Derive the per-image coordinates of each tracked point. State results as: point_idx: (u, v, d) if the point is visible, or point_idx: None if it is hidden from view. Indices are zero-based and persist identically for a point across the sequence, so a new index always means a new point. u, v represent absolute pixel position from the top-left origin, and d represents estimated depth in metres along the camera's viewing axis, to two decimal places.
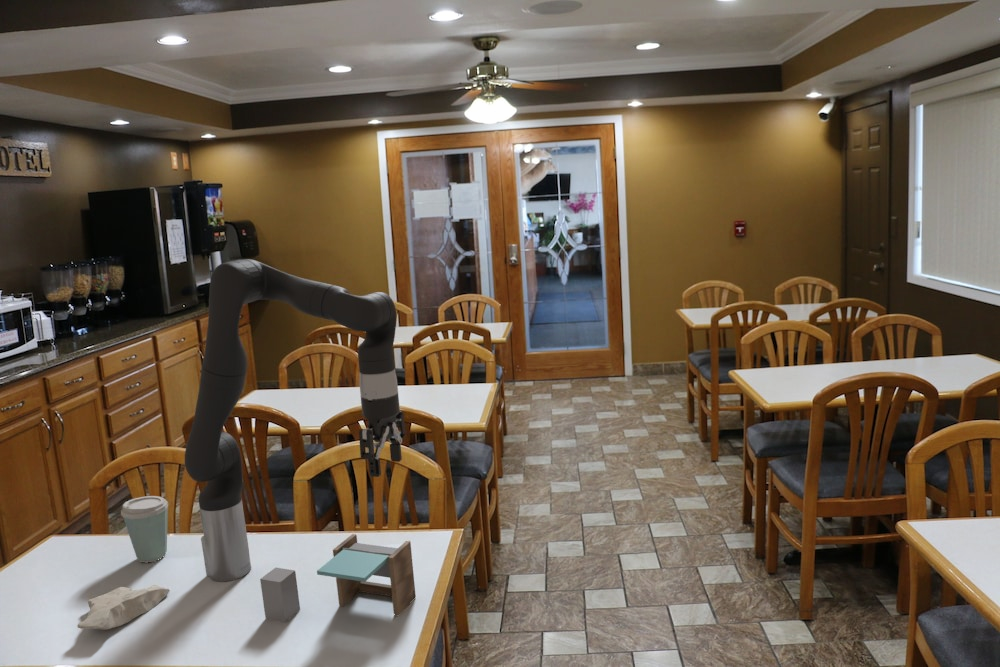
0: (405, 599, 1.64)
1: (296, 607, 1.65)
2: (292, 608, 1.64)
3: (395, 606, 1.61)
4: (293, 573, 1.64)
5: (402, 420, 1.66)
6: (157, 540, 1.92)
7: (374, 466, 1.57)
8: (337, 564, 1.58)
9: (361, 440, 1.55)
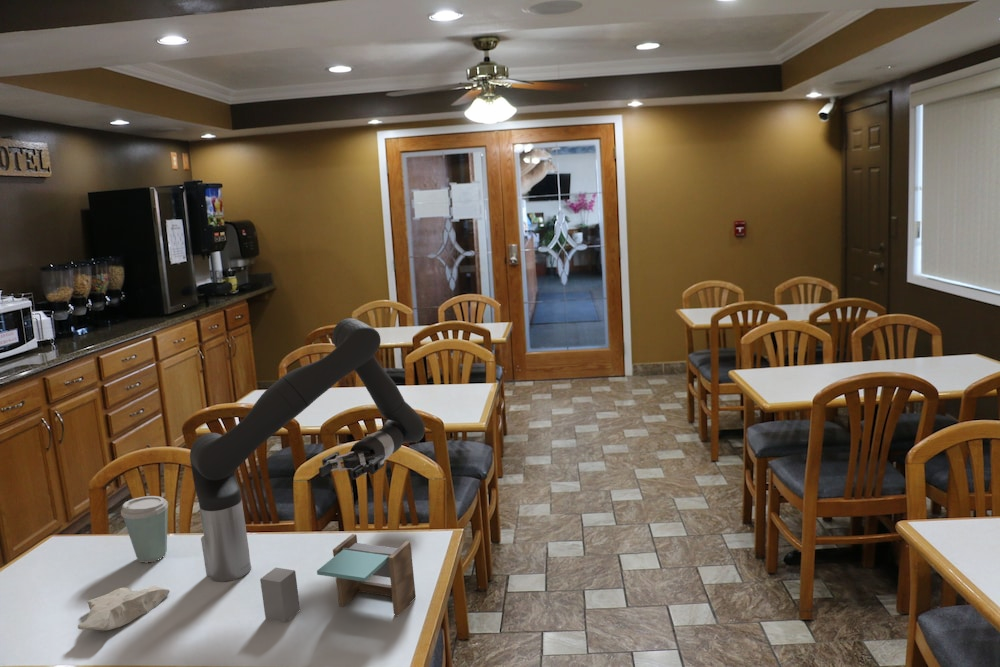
0: (405, 599, 1.64)
1: (296, 607, 1.65)
2: (292, 608, 1.64)
3: (395, 606, 1.61)
4: (293, 573, 1.64)
5: None
6: (157, 540, 1.92)
7: (361, 474, 1.82)
8: (337, 564, 1.58)
9: (380, 460, 1.87)
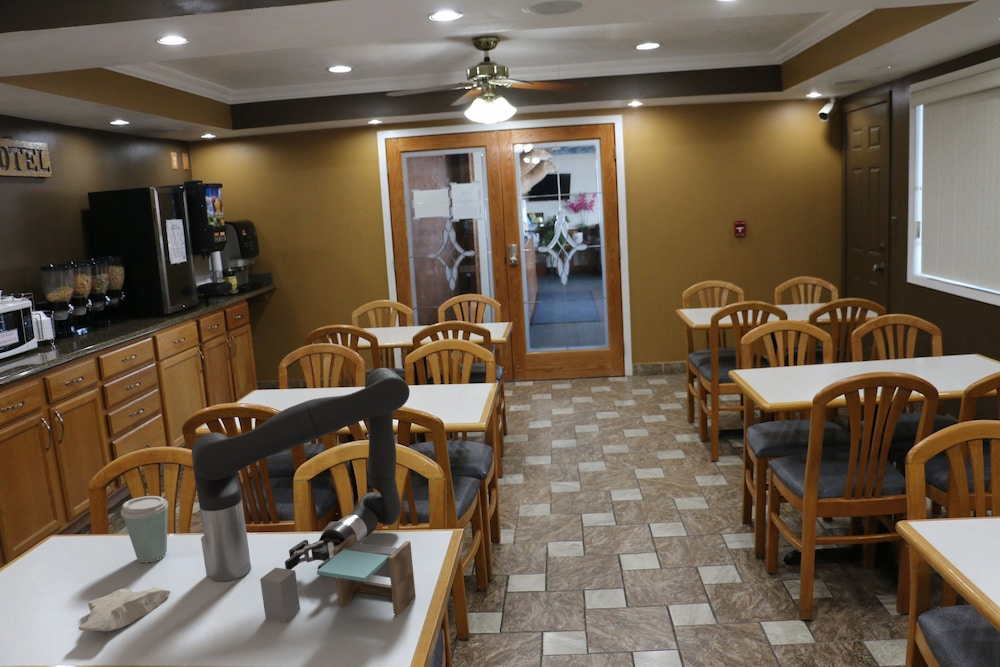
0: (405, 599, 1.64)
1: (296, 607, 1.65)
2: (292, 608, 1.64)
3: (395, 606, 1.61)
4: (293, 573, 1.64)
5: None
6: (157, 540, 1.92)
7: None
8: (337, 564, 1.58)
9: None
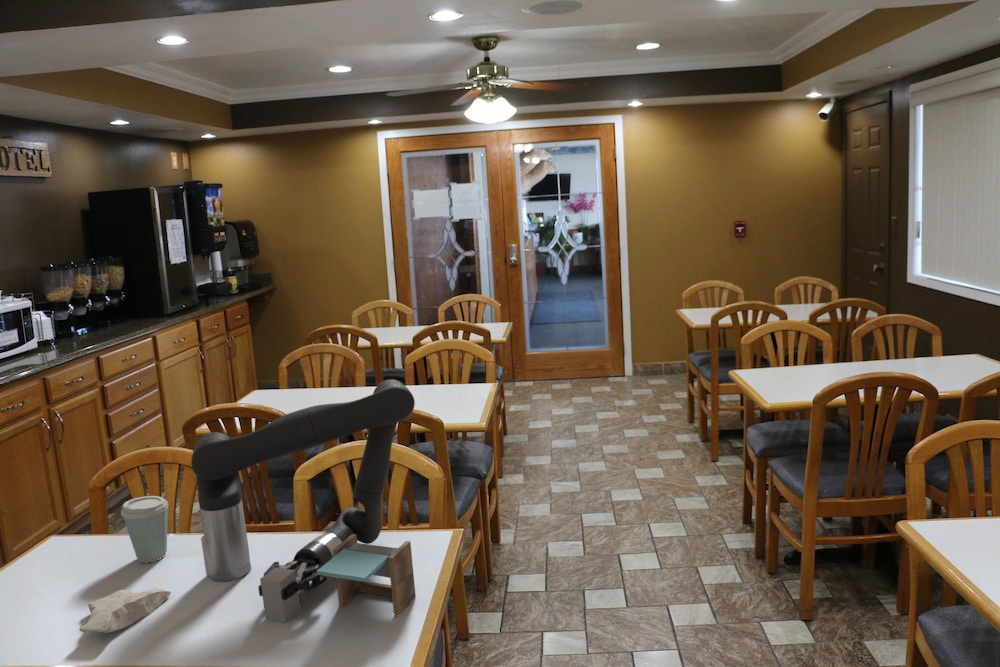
0: (405, 599, 1.64)
1: (296, 607, 1.65)
2: (292, 608, 1.64)
3: (395, 606, 1.61)
4: (293, 573, 1.64)
5: None
6: (157, 540, 1.92)
7: (294, 593, 1.62)
8: (337, 564, 1.58)
9: (320, 575, 1.66)
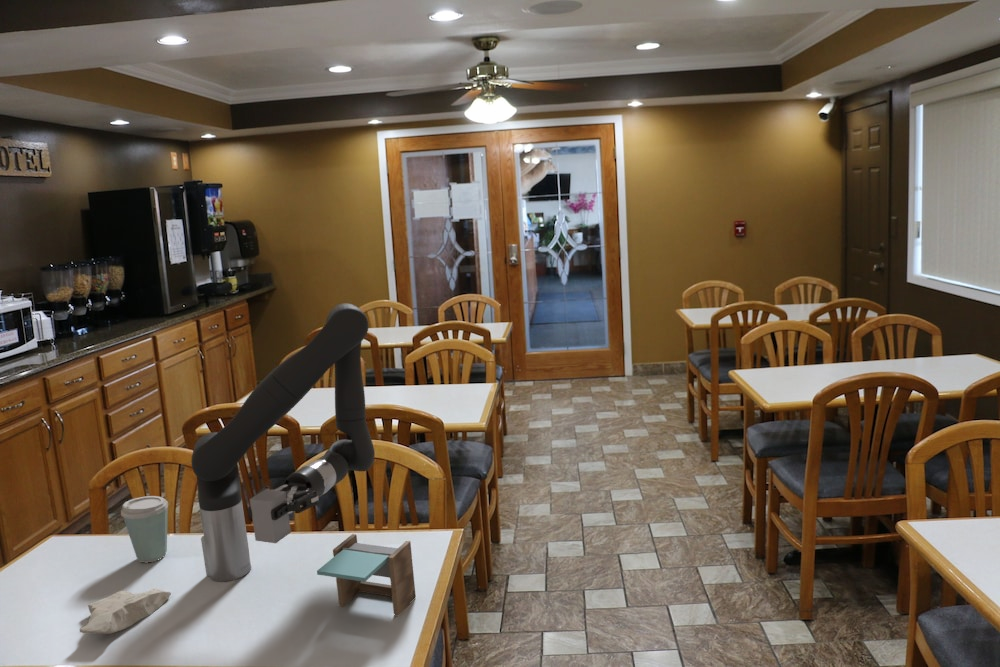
0: (405, 599, 1.64)
1: (287, 529, 1.62)
2: (282, 530, 1.60)
3: (395, 606, 1.61)
4: (283, 494, 1.61)
5: None
6: (157, 540, 1.92)
7: (284, 513, 1.59)
8: (337, 564, 1.58)
9: (311, 497, 1.63)
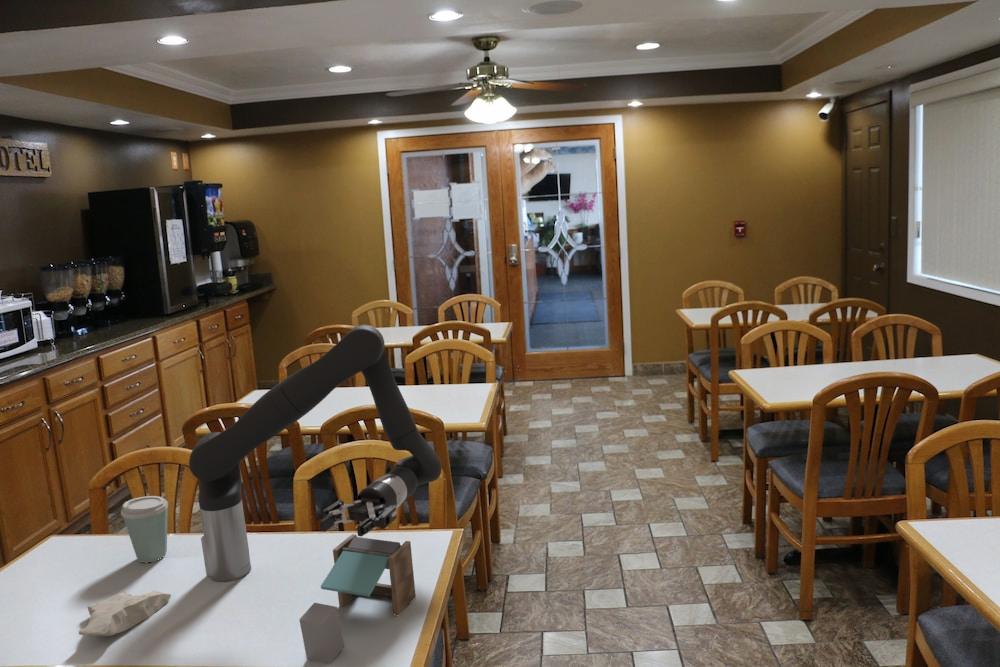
0: (405, 599, 1.64)
1: (326, 625, 1.45)
2: (330, 622, 1.46)
3: (395, 606, 1.61)
4: (331, 660, 1.47)
5: None
6: (157, 540, 1.92)
7: (370, 529, 1.54)
8: (339, 574, 1.59)
9: (392, 512, 1.59)
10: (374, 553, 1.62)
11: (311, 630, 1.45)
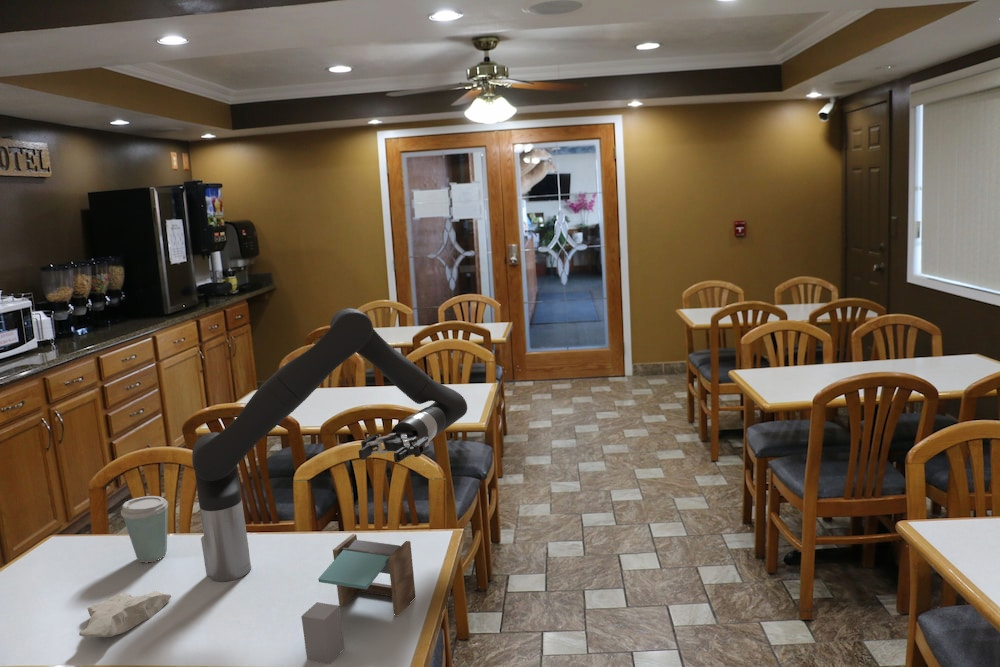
0: (405, 599, 1.64)
1: (328, 621, 1.46)
2: (332, 620, 1.47)
3: (395, 606, 1.61)
4: (331, 660, 1.47)
5: None
6: (157, 540, 1.92)
7: (405, 457, 1.67)
8: (338, 569, 1.59)
9: (425, 442, 1.71)
10: (374, 553, 1.62)
11: (312, 627, 1.46)
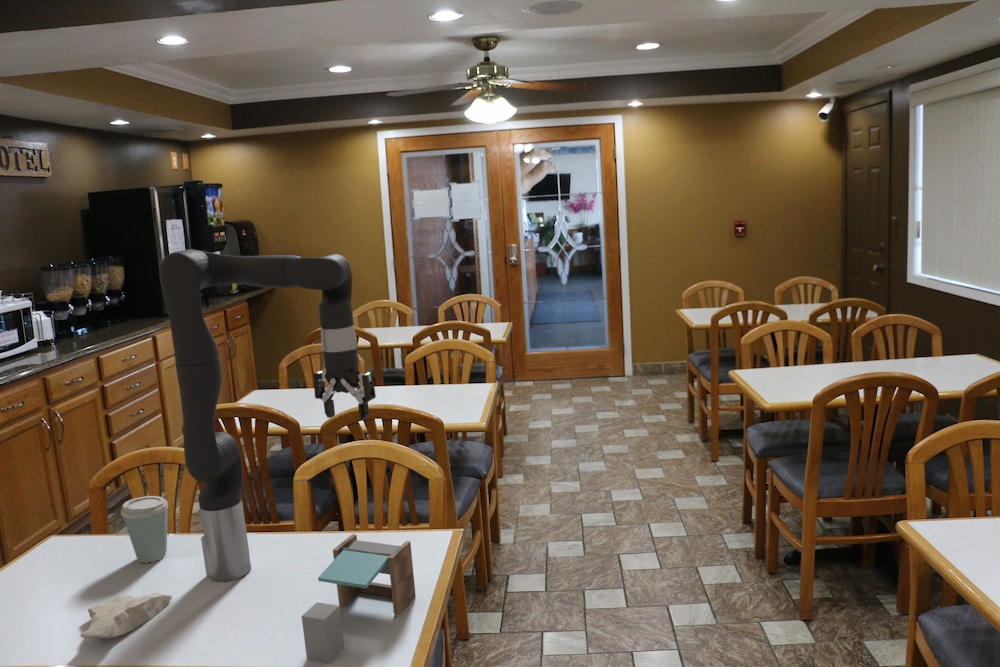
0: (405, 599, 1.64)
1: (328, 622, 1.46)
2: (332, 620, 1.47)
3: (395, 606, 1.61)
4: (331, 660, 1.47)
5: None
6: (157, 540, 1.92)
7: (367, 407, 1.74)
8: (338, 569, 1.59)
9: (368, 383, 1.71)
10: (374, 553, 1.62)
11: (312, 627, 1.46)
